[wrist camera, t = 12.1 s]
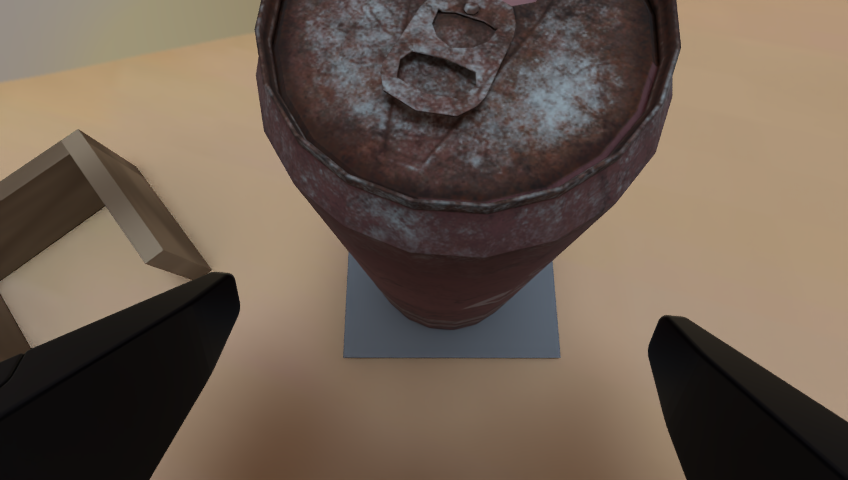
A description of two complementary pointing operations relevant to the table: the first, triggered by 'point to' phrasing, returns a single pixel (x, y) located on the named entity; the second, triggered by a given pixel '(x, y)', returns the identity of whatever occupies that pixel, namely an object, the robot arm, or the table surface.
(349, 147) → the can
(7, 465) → the robot arm
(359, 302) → the mat
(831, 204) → the table surface
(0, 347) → the bracket
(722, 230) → the table surface
